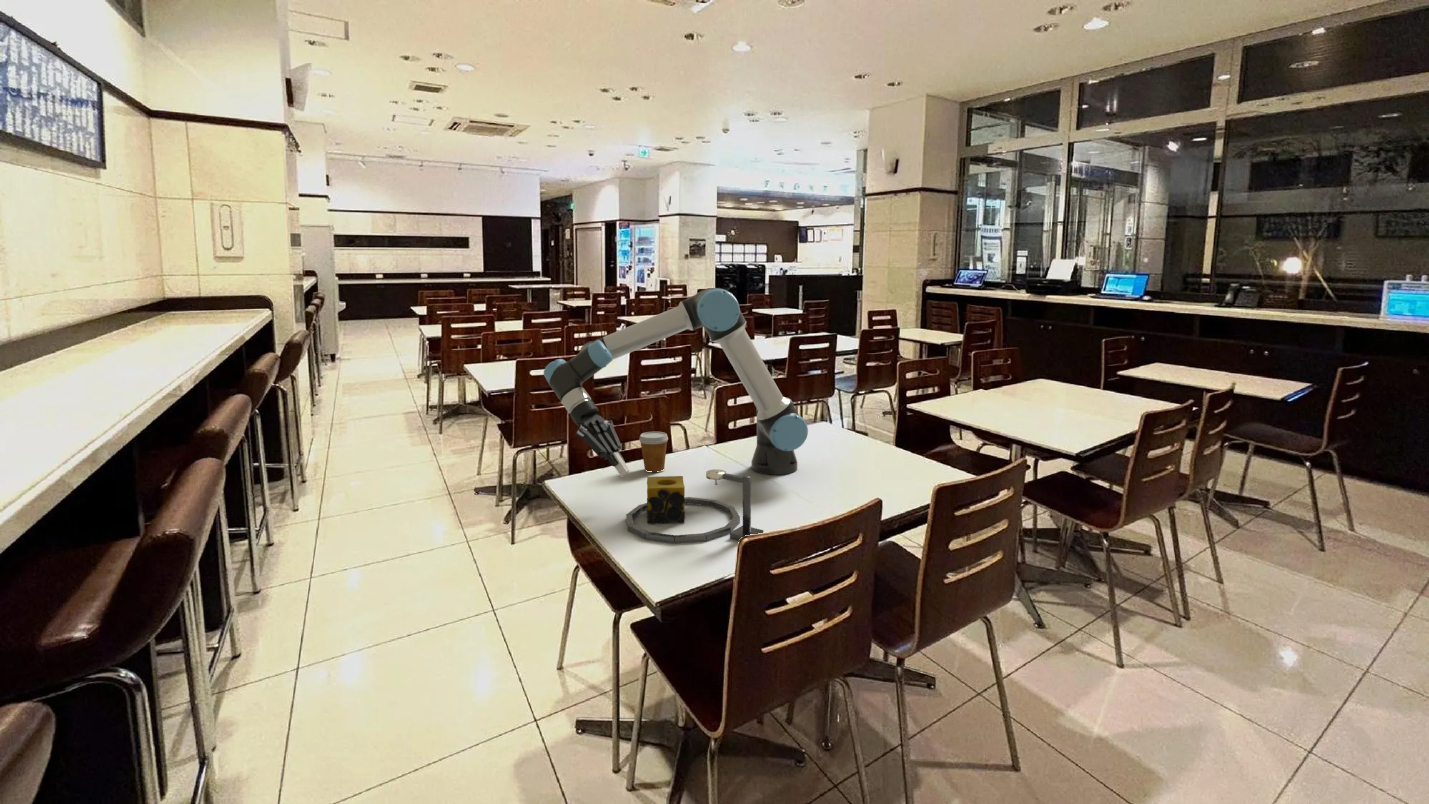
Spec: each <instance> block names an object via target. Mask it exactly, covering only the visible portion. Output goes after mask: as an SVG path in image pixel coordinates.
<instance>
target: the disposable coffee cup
mask: <svg viewBox="0 0 1429 804" xmlns="http://www.w3.org/2000/svg"><path fill="white" fill-rule="evenodd" d="M638 440H639V442H640V446H641V454H642V459H643V466H644V470H645V469H646V470H647V471H652V472H657V471H661V470H663V469H664V470H665V464H666V456H667V455H666V454H667V445H668V440H669V437H668V434H667V433H666V432H662V431H647V432H642V433H640V436H639V438H638Z"/></svg>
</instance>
